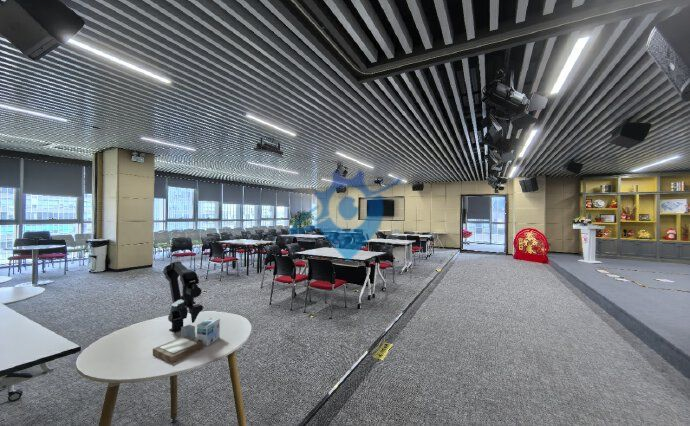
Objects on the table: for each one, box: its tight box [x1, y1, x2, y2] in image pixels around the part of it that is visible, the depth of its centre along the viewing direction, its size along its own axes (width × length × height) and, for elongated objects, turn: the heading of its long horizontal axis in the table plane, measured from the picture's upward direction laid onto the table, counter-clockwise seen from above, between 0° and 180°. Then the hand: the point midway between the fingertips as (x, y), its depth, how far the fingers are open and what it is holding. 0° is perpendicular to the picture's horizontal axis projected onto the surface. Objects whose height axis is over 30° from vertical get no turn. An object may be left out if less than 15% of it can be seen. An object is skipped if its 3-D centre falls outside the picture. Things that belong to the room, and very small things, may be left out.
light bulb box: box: [196, 317, 221, 347], centre depth 154 cm, size 11×7×11 cm, turn 168°
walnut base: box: [152, 336, 204, 364], centre depth 142 cm, size 16×16×3 cm
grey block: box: [180, 324, 196, 339], centre depth 157 cm, size 5×5×6 cm
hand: (187, 321), depth 157 cm, fingers open, 9 cm apart
